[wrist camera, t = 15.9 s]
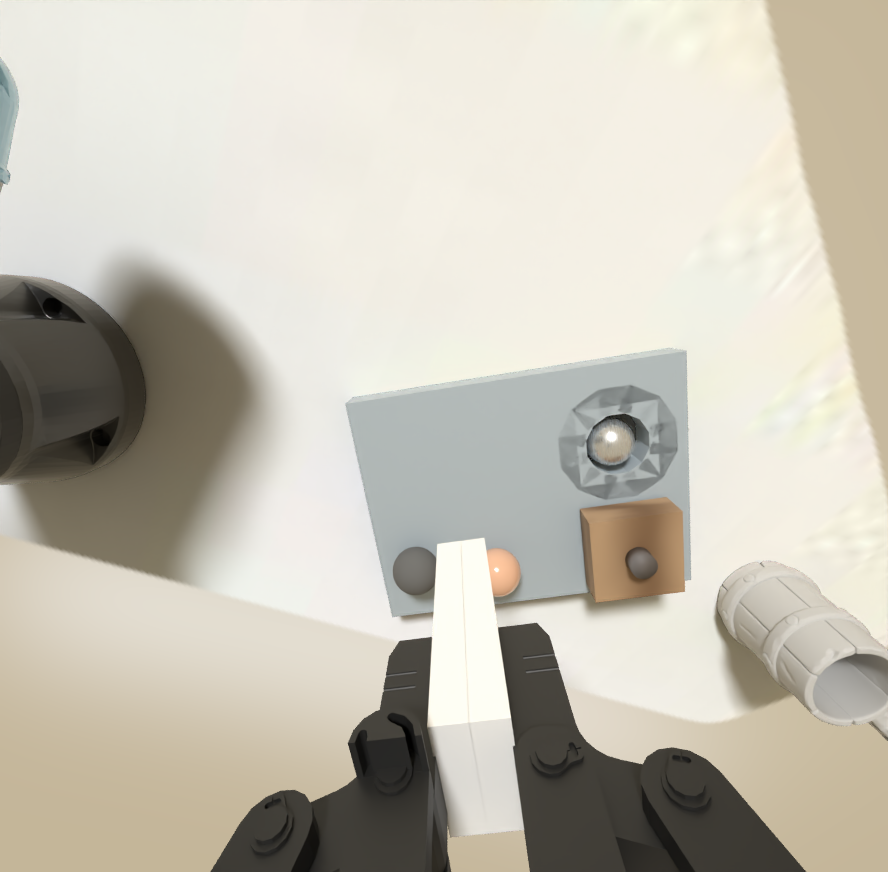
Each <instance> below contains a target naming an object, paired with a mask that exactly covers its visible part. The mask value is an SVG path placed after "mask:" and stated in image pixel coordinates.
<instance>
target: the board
mask: <svg viewBox="0 0 888 872" xmlns="http://www.w3.org/2000/svg"><path fill="white" fill-rule="evenodd" d="M346 409H347V413H348V418H349V422H350V427H351V432H352V436H353V441H354V445H355V450H356V454H357V459H358V463H359V468H360V472H361V477H362V481H363V486H364V491H365V495H366V500H367V504H368V509H369V513H370V518H371V522H372V527H373V531H374V536H375V540H376V545H377V550H378V554H379V559H380V563H381V568H382V572H383V577H384V581H385V586H386V590H387V595H388V599H389V604H390V609H391V613H392V617H397V616H405V615H413V614H421V613H429V612H434V596H435V585H434V587H433V588H432V589H431V590H430V591H428V592H426V593H424V594H421V595H410V594H407V593H405V592H403V591H402V590H401V589H400V588H399V587H398V586H397V585H396V583H395V581H394V578H393V565H394V562H395V560H396V558H397V557H398V555H399V554H400V553H401V552H402V551H404V550H405V549H407V548H410V547H422V548H425V549H427V550H429V551H430V552H432V553H433V555H434V556H435V557H436V559H437V544H441V543H449V542H456V541H464V540H471V539H479V538H484V539H485V545H486V550H488V549H492V548H502V549H505V550H507V551H509V552H510V553H512V554H513V555H514V556H515V557H516V559H517V560H518V562H519V565H520V569H521V578H520V581H519V584H518V586H517V587H516V588H515V590H514V591H513V592H511V593H510V594H508V595H505V596H501V597H495V596H493V599H494V604H501V603H509V602H517V601H525V600H533V599H541V598H549V597H557V596H565V595H573V594H581V593H589V592H590V590H589V588H588V585H587V583H586V574H585V563H584V551H583V540H582V529H581V518H580V509H582V508H589V507H596V506H604V505H611V504H618V503H626V502H633V501H640V500H648V499H655V498H662V497H667V498H668V499H669V500H671V501H672V502H673V503H674V504H675V505H676V506H677V507H679V508H680V509H681V510H682V511H683V539H684V579H685V580H691V551H690V502H689V453H688V404H687V355H686V351H684V350H678V349H673V348H666V349H660V350H654V351H647V352H641V353H634V354H628V355H622V356H615V357H609V358H602V359H596V360H590V361H583V362H577V363H570V364H564V365H557V366H551V367H545V368H538V369H532V370H525V371H519V372H513V373H506V374H500V375H493V376H487V377H481V378H474V379H468V380H461V381H455V382H449V383H442V384H436V385H429V386H423V387H416V388H410V389H404V390H397V391H391V392H384V393H378V394H372V395H365V396H359V397H353V398H352V399H350V400H349V401H348V402H347V403H346ZM624 413H625V414H628V415H630V417H631V418H632V419H633V421H634V422H635V423H636V440H635V447H634V450H633V452H632V454H631V456H630V457H629V458H628V459H627V460H625V461H624V462H622V463H620V464H617V465H603V464H600V463H598V462H595V461H593V460H590V459H589V458H588V457H587V446H586V440H587V438H588V436H589V434H590V432H591V430H592V428H593V426H594V425H596V424H597V423H598V422H600V421H601V420H603V419H604V418H605V417H607V416H610V415H617V414H624Z"/></svg>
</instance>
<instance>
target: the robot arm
mask: <svg viewBox="0 0 888 872" xmlns="http://www.w3.org/2000/svg"><path fill="white" fill-rule="evenodd" d="M18 108H19V96H18V90H17V87H16V84H15V81H14V79H13V76H12V75H11V73H10V71H9V69H8V67H7V66H6V64H5V63H4V61H3V60H2V59H1V57H0V192H1V189H2V185H3V183H4V184H7V185H8V182H9V180H10V173H9V172H8V170H7V164H8V158H9V153H10V148H11V142H12V137H13V132H14V126H15V122H16V118H17V113H18ZM144 409H145V385H144V379H143V374H142V370H141V367H140V364H139V361H138V358H137V356H136V354H135V351H134V349H133V347H132V346H131V344H130V342H129V340H128V339H127V337H126V335H125V334H124V333H123V331H122V330H121V328H120V327H119V326H118V325H117V323H116V322H115V321H114V320H113V319H112V318H111V317H110V316H109V315H108V314H107V313H106V312H105V311H104V310H103V309H102V308H101V307H100V306H99V305H97V304H96V303H95V302H93V301H92V300H91V299H89V298H88V297H86V296H85V295H83V294H82V293H80V292H78V291H76V290H74V289H72V288H70V287H68V286H66V285H64V284H61V283H58V282H55V281H52V280H48V279H44V278H39V277H30V276H17V275H0V485H8V484H22V483H37V482H51V481H60V480H65V479H70V478H74V477H77V476H80V475H83V474H85V473H88V472H90V471H92V470H94V469H97V468H99V467H101V466H103V465H106V464H108V463H109V462H111V461H113V460H114V459H116V458H117V457H118V456H119V455H121V454H122V453H123V452H124V451H125V450H126V449H127V448H128V446H129V445H130V444H131V443H132V441H133V440H134V438H135V436H136V434H137V433H138V430H139V428H140V425H141V422H142V419H143V415H144ZM348 746H349V749H350V753H351V757H352V760H353V764H354V768H355V771H356V775H357V777H356V778H355V779H354V780H353V781H351V782H350V783H349V784H348V785H346V786H344V787H343V788H341V789H339V790H337V791H336V792H333V793H331V794H329V795H326V796H324V797H322V798H320V799H317V800H315V801H313V802H311V803H310V802H309V800H308V798H307V797H306V796H305V794H302V793H300V792H298V791H295V790H286V791H279V792H277V793H275V794H273V795H270V796H268V797H266V798H265V799H263V800H262V801H261V802H260V803H258V804H257V805H256V806H254V807H253V808H252V809H251V810H250V811H249V813H248V814H247V815H246V817H245V818H244V819H243V821H242V822H241V823H240V824H239V826H238V828H237V829H236V831H235V833H234V834H233V836H232V838H231V839H230V841H229V842H228V844H227V846H226V848H225V849H224V851H223V852H222V854H221V856H220V857H219V859H218V860H217V862H216V864H215V865H214V867H213V869H212V870H211V872H451V869H450V863H449V857H448V852H447V824H448V829H449V833H450V837H459V836H469V835H480V834H489V833H499V832H510V831H521V830H524V832H525V839H526V846H527V853H528V861H529V868H530V872H806V871H805V870H804V869H803V868H802V867H801V865H800V864H799V863H798V862H797V861H796V859H795V858H794V857H793V856H792V855H791V854H790V853H789V851H788V850H787V849H786V848H785V847H784V845H783V844H782V843H781V842H780V841H779V840H778V838H777V837H776V836H775V835H774V834H773V833H772V832H771V830H770V829H769V828H768V827H767V826H766V824H765V823H764V822H763V821H762V820H761V819H760V817H759V816H758V815H757V814H756V813H755V812H754V810H753V809H752V808H751V807H750V806H749V805H748V804H747V802H746V801H745V800H744V799H743V798H742V797H741V795H740V794H739V793H738V792H737V791H736V789H735V788H734V787H733V786H732V785H731V784H730V783H729V781H728V780H727V779H726V778H725V777H724V775H722V773H721V772H720V771H719V770H718V769H717V768H715V767H714V766H713V765H712V764H711V763H710V762H709V761H708V760H706V759H704V758H703V757H701V756H699V755H697V754H695V753H693V752H691V751H688V750H682V749H677V748H666V749H659V750H657V751H655V752H653V753H652V754H651V755H649V756H647V757H646V760H645V761H644V763H643V764H638V763H633V762H628V761H624V760H619V759H616V758H613V757H609V756H607V755H605V754H603V753H601V752H599V751H598V750H596V749H595V748H593V747H592V746H591V745H590V744H589V743H588V742H586V740H585V739H584V738H583V736H582V735H581V734H580V732H579V730H578V728H577V726H576V723H575V720H574V716H573V713H572V710H571V706H570V703H569V700H568V696H567V693H566V690H565V687H564V683H563V680H562V677H561V673H560V670H559V667H558V663H557V660H556V657H555V654H554V650H553V647H552V643H551V640H550V637H549V635H548V634H547V633H546V632H545V631H544V630H543V629H542V628H541V627H540V626H539V625H538V624H537V623H532V624H524V625H515V626H507V627H499V628H498V626H497V620H496V613H495V606H494V599H493V593H492V586H491V579H490V572H489V566H488V559H487V552H486V545H485V539H484V538H479V539H471V540H464V541H456V542H449V543H441V544H437V560H436V578H435V596H434V614H433V633H432V637H429V638H421V639H412V640H404V641H399V643H398V644H397V646H396V647H395V649H394V650H393V652H392V653H391V655H390V656H389V661H388V666H387V672H386V678H385V683H384V692H383V695H382V701H381V707H380V710H379V711H376V712H374V713H372V714H371V715H369V716H368V717H366V718H364V719H363V720H362V721H361V722H360V724H359V725H358V726H357V727H356V728H355V730H353V733H352V735H351V737H350V740H349V742H348Z"/></svg>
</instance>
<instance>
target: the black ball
mask: <svg viewBox="0 0 888 872" xmlns="http://www.w3.org/2000/svg"><path fill="white" fill-rule="evenodd" d="M436 560H437V559H436V557H435V556H434V555H433V553H432V552H430V551H429V550H427V549H425V548H422V547H410V548H407V549H405V550H404V551H402V552H401V553H400V554H399V555H398V557H397V558H396V560H395V562H394V565H393V578H394V581H395V583H396V585H397V586H398V587H399V588H400V589H401V590H402V591H403V592H405V593H407V594H410V595H421V594H424V593H426V592H428V591H430V590H431V589H432V588H433V587H434V585H435V578H436Z"/></svg>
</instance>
